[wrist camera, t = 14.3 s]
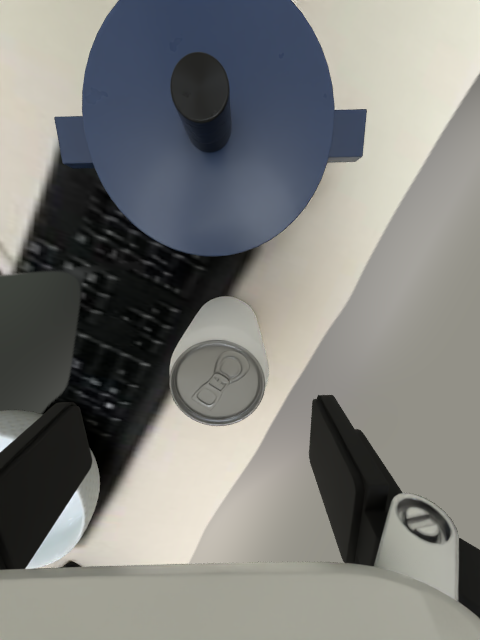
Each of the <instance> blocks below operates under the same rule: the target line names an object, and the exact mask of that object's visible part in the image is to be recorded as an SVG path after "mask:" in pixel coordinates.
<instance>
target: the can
mask: <svg viewBox="0 0 480 640" xmlns="http://www.w3.org/2000/svg"><path fill="white" fill-rule="evenodd" d="M268 375H269V367H268V360H267V356H266V351H265V348H264V344H263V340H262V336H261V332H260V329H259V325H258V321H257V318H256V316H255V313H254V312H253V310H252V308H251V307H250V306H249V305H248V304H246V303H245V302H243V301H242V300H240V299H237V298H234V297H230V296H222V297H217V298H214V299H212V300H210V301H208V302H207V303H205V304H204V305H203V306H202V307H201V309H200V310H199V311H198V313H197V314H196V316H195V317H194V319H193V320H192V322H191V324H190V325H189V327H188V328H187V330H186V331H185V333H184V335H183V336H182V338H181V339H180V341H179V343H178V344H177V346H176V348H175V350H174V352H173V355H172V358H171V362H170V391H171V395H172V397H173V399H174V401H175V403H176V405H177V406H178V407H179V409H180V410H181V411H182V412H183V413H184V414H185V415H187V416H188V417H190V418H191V419H193V420H195V421H197V422H199V423H202V424H206V425H211V426H225V425H231V424H234V423H237V422H239V421H241V420H243V419H245V418H247V417H248V416H249V415H250V414H252V413H253V412H254V411H255V409H256V408H257V407H258V405H259V404H260V402H261V400H262V398H263V395H264V391H265V387H266V385H267V381H268Z"/></svg>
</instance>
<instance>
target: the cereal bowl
mask: <svg viewBox="0 0 480 640" xmlns="http://www.w3.org/2000/svg"><path fill="white" fill-rule="evenodd" d="M42 415H43V414H40V413H36V412H29V411H25V410H24V411H19V410H5V411H0V452H1V451H2V450H3V449H5V448H6V447H7V446H8V445H9V444H10V443H11V442H13V441H14V440H15V439H16V438H17V437H18V436H19V435H20V434H22V433H23V432H24V431H25V430H26V429H27V428H28V427H30V426H31V425H32V424H33V423H34V422H35V421H36V420H37V419H39V418H40V417H41V416H42ZM90 452H91V457H92V466H91V468H90V470H89V472H88V473H87V475H86V476H85V478H84V480H83V481H82V483H81V484H80V486H79V487H78V489H77V490H76V492H75V493H74V495H73V496H72V498H71V500H70V501H69V503H68V504H67V506H66V507H65V509H64V510H63V512H62V513H61V515H60V516H59V518H58V519H57V521H56V523H55V524H54V526H53V527H52V529H51V530H50V532H49V533H48V535H47V536H46V538H45V539H44V541H43V543H42V544H41V546H40V547H39V549H38V550H37V552H36V553H35V555H34V556H33V558H32V559H31V561H30V563H29V564H28V566H27V567H26V568H25V569H35V568H39V567H43V566H46V565H48V564H51V563H53V562H55V561H57V560H59V559H60V558H62V557H63V556H65V555H66V554H67V553H69V552H70V551H71V550H72V549H73V548H74V547H75V545H76V544H77V543H78V541H79V540H80V538H81V537H82V535H83V533H84V531H85V530H86V528H87V526H88V523H89V522H90V520H91V517H92V515H93V513H94V510H95V507H96V504H97V499H98V496H99V491H100V489H99V487H100V476H99V469H98V467H97V462H96V460H95V457H94V455H93V452H92V451H91V449H90Z"/></svg>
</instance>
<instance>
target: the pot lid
mask: <svg viewBox="0 0 480 640" xmlns="http://www.w3.org/2000/svg"><path fill="white" fill-rule="evenodd" d="M82 113H83V123H84V132H85V136H86V141H87V146H88V150H89V153H90V156H91V159H92V162H93V165H94V168H95V170H96V172H97V174H98V176H99V178H100V181H101V183H102V185H103V186H104V188H105V190H106V191H107V193H108V194H109V196H110V198H111V199H112V201H113V202H114V203H115V204H116V206H117V207H118V208H119V210H120V211H121V212H122V213H123V214H124V215H125V216H126V217H127V218H128V219H129V220H130V222H131V223H132V224H134V225H135V226H136V227H137V228H138V229H140V230H141V231H142V232H143V233H145V234H146V235H148V236H149V237H151V238H152V239H154V240H156V241H157V242H159V243H161V244H163V245H165V246H167V247H170V248H172V249H175V250H178V251H181V252H184V253H188V254H193V255H199V256H226V255H233V254H237V253H241V252H245V251H248V250H250V249H253V248H256V247H258V246H260V245H262V244H264V243H265V242H267V241H269V240H271V239H272V238H274V237H275V236H277V235H278V234H279V233H281V232H282V231H283V230H284V229H286V228H287V227H288V226H289V225H290V224H291V223H292V222H293V221H294V220H295V219H296V218H297V217H298V215H299V214H300V213H301V212H302V211H303V209H304V208H305V207H306V205H307V204H308V202H309V201H310V199H311V198H312V196H313V195H314V193H315V191H316V189H317V187H318V185H319V183H320V181H321V179H322V176H323V173H324V170H325V168H326V165H327V162H328V158H329V154H330V150H331V145H332V139H333V131H334V98H333V88H332V82H331V78H330V73H329V69H328V65H327V62H326V59H325V56H324V53H323V51H322V48H321V45H320V43H319V41H318V39H317V37H316V35H315V33H314V31H313V29H312V28H311V26H310V25H309V23H308V22H307V20H306V18H305V17H304V15H303V14H302V12H301V11H300V10H299V9H298V8H297V7H296V5H295V4H294V3H293V2H292V1H291V0H119V1H118V2H117V3H116V5H115V6H114V7H113V9H112V10H111V11H110V13H109V14H108V15H107V17H106V18H105V20H104V22H103V24H102V26H101V28H100V29H99V31H98V33H97V35H96V38H95V40H94V43H93V46H92V48H91V51H90V54H89V58H88V62H87V66H86V70H85V75H84V83H83V91H82Z"/></svg>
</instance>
